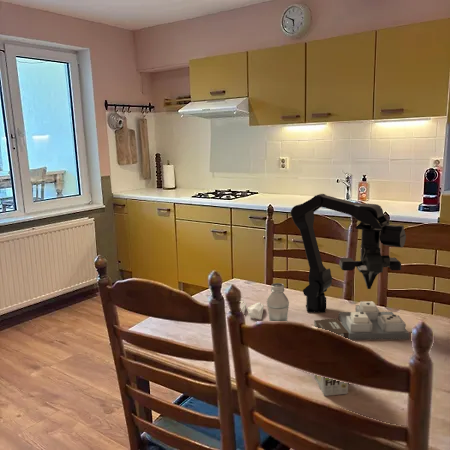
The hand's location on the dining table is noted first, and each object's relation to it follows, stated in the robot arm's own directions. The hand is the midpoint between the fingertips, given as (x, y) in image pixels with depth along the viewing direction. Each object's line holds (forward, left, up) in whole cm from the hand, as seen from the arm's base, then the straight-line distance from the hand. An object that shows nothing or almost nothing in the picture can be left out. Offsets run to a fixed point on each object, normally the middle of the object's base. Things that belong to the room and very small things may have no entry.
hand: (368, 288), depth 145 cm
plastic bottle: (-31, -19, -12) cm, 38 cm away
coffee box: (-19, -39, -12) cm, 45 cm away
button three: (+5, -9, -9) cm, 14 cm away
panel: (0, -5, -12) cm, 13 cm away
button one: (0, 0, -9) cm, 9 cm away
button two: (-5, -9, -9) cm, 13 cm away
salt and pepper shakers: (-40, +9, -12) cm, 43 cm away
